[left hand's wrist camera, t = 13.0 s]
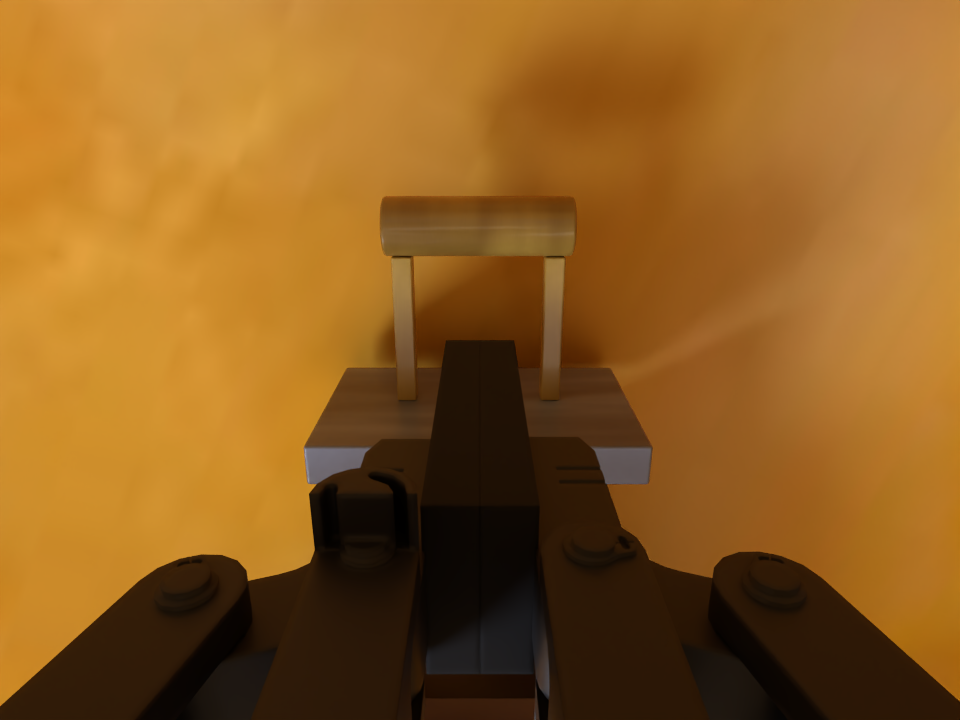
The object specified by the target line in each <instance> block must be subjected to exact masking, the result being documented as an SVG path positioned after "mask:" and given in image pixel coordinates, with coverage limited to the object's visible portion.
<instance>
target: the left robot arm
mask: <svg viewBox="0 0 960 720" xmlns="http://www.w3.org/2000/svg"><path fill="white" fill-rule="evenodd" d="M309 498H310V507H311V517H312V527H313V536H314V546H315V552H314V554H313V557H312V560H311V562H310V563H309V564H307V565H305V566H303V567H300V568H298V569H296V570H293V571H289V572H286V573H282V574H279V575H274V576H269V577H265V578H260V579H255V580H251V581H248V579H247V572H246V570H245V569H244V567H243V566H242V565H241V564H240V563H239V562H238V561H237V560H234V559H231V558H229V557H226V556H223V555H197V556H192V557H186V558H182V559H178V560H176V561H173V562H171V563H169V564H166V565H164V566H161V567H159V568H157V569H156V570H154V571H153V572H151V573H150V574H148V575H147V576H146V577H144V578H143V579H141V580H140V581H139V582H137V583H136V584H135V585H134V586H133V587H132V588H131V589H130V590H129V591H127V592H126V593H125V594H124V595H123V596H122V597H121V598H120V599H119V600H117V601H116V602H115V603H114V604H113V605H112V606H111V607H110V608H109V609H108V610H106V611H105V612H104V613H103V614H102V615H101V616H100V617H99V618H98V619H96V620H95V621H94V622H93V623H92V624H91V625H90V626H89V627H88V628H86V629H85V630H84V631H83V632H82V633H81V634H80V635H79V636H78V637H77V638H75V639H74V640H73V641H72V642H71V643H70V644H69V645H68V646H67V647H65V648H64V649H63V650H62V651H61V652H60V653H59V654H58V655H57V656H56V657H54V658H53V659H52V660H51V661H50V662H49V663H48V664H47V665H46V666H44V667H43V668H42V669H41V670H40V671H39V672H38V673H37V674H36V675H34V676H33V677H32V678H31V679H30V680H29V681H28V682H27V683H26V684H25V685H23V686H22V687H21V688H20V689H19V690H18V691H17V692H16V693H15V694H13V695H12V696H11V697H10V698H9V699H8V700H7V701H6V702H5V703H3V704H2V705H1V706H0V720H424V717H425V685H424V676H425V666H426V674H534V663H535V673H536V685H535V711H534V720H960V702H959V701H958V700H957V699H956V698H955V697H954V696H953V695H952V694H951V693H949V692H948V691H947V690H946V689H945V688H944V687H943V686H942V685H940V684H939V683H938V682H937V681H936V680H935V679H934V678H933V677H932V676H930V675H929V674H928V673H927V672H926V671H925V670H924V669H923V668H922V667H920V666H919V665H918V664H917V663H916V662H915V661H914V660H913V659H911V658H910V657H909V656H908V655H907V654H906V653H905V652H904V651H903V650H901V649H900V648H899V647H898V646H897V645H896V644H895V643H894V642H893V641H891V640H890V639H889V638H888V637H887V636H886V635H885V634H884V633H882V632H881V631H880V630H879V629H878V628H877V627H876V626H875V625H874V624H872V623H871V622H870V621H869V620H868V619H867V618H866V617H865V616H864V615H862V614H861V613H860V612H859V611H858V610H857V609H856V608H855V607H853V606H852V605H851V604H850V603H849V602H848V601H847V600H846V599H845V598H843V597H842V596H841V595H840V594H839V593H838V592H837V591H836V590H834V589H833V588H832V587H831V586H830V585H829V584H828V583H827V582H826V581H824V580H823V579H822V578H821V577H820V576H818V575H817V574H815V573H814V572H812V571H811V570H809V569H808V568H806V567H805V566H804V565H802V564H799V563H797V562H794V561H792V560H789V559H787V558H785V557H782V556H778V555H774V554H768V553H763V552H738V553H735V554H732V555H729V556H726V557H723V558H722V559H721V560H720V562H719V563H718V564H717V565H716V566H715V567H714V572H713V578H709V577H704V576H699V575H695V574H690V573H685V572H681V571H677V570H674V569H670V568H667V567H664V566H661V565H659V564H657V563H655V562H653V561H650V560H649V559H648V556H647V553H646V551H645V549H644V547H643V546H642V545H641V543H640V542H639V540H638V539H637V538H636V537H635V536H633V535H632V534H630V533H629V532H628V531H626V530H625V529H623V528H622V527H621V524H620V521H619V519H618V516H617V513H616V510H615V507H614V504H613V501H612V498H611V496H610V493H609V490H608V487H607V484H605V478H604V476H603V473H602V470H600V464H599V461H598V458H597V456H596V453H595V450H593V449H592V448H591V447H590V446H589V445H587V444H586V443H585V442H584V441H583V440H581V439H580V438H579V437H529V434H528V427H527V421H526V414H525V408H524V402H523V395H522V389H521V382H520V376H519V369H518V363H517V357H516V350H515V344H514V340H446V344H445V350H444V357H443V363H442V369H441V376H440V382H439V389H438V395H437V402H436V408H435V414H434V421H433V427H432V434H431V439H381V440H380V441H379V442H378V443H376V444H375V445H374V446H373V447H372V448H370V449H369V450H368V451H367V452H366V453H365V455H364V458H363V461H362V464H361V467H360V468H354V469H349V470H346V471H342V472H339V473H336V474H333V475H331V476H329V477H327V478H326V479H324V480H322V481H321V482H319V483H318V484H317V485H316V486H315V487H314V488H313V490H312V491H311V492H310V493H309Z"/></svg>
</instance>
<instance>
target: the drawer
mask: <svg viewBox="0 0 960 720" xmlns="http://www.w3.org/2000/svg"><path fill="white" fill-rule="evenodd" d="M576 232H577V211H576V203H575V200H574V198H573V197H571V196H386V197H383V199H382V202H381V207H380V236H381V245H382V249H383V252H384V254H385V255H386V256H392V258H391V267H392V288H393V310H394V331H395V352H396V368H347V369H346V371H345V373H344V374H343V376H342V378H341V380H340V382H339V384H338V385H337V387H336V389H335V391H334V393H333V395H332V397H331V398H330V400H329V402H328V404H327V406H326V408H325V409H324V411H323V413H322V415H321V417H320V419H319V420H318V422H317V424H316V426H315V428H314V430H313V431H312V433H311V435H310V437H309V439H308V441H307V442H306V444H305V446H304V454H305V464H306V473H307V482H308V483H309V484H318V483H319V482H321V481H322V480H324V479H326V478H327V477H329V476H331V475H333V474H336V473H339V472H342V471H346V470H349V469H354V468H360V467H361V464H362V461H363V458H364V455H365V453H366V452H367V451H368V450H369V449H370V448H372V447H373V446H374V445H375V444H376V443H378V442H379V441H380V440H381V439H431V434H432V427H433V421H434V414H435V408H436V402H437V395H438V389H439V382H440V376H441V369H442V368H417V347H416V319H415V290H414V262H413V256H544V259H543V289H542V318H541V348H540V368H518V369H519V376H520V382H521V389H522V395H523V402H524V408H525V414H526V421H527V427H528V434H529V437H579V438H580V439H581V440H583V441H584V442H585V443H586V444H587V445H589V446H590V447H591V448H592V449H593V450H595V453H596V456H597V458H598V461H599V464H600V470H602V473H603V476H604V478H605V484H648V483H649V478H650V468H651V459H652V449H653V448H652V445H651V444H650V442H649V440H648V438H647V436H646V434H645V432H644V430H643V428H642V427H641V425H640V423H639V421H638V419H637V417H636V415H635V413H634V412H633V410H632V408H631V406H630V404H629V402H628V400H627V398H626V396H625V395H624V393H623V391H622V389H621V387H620V385H619V383H618V381H617V380H616V378H615V376H614V374H613V372H612V370H611V369H610V368H561V350H562V328H563V306H564V284H565V262H566V259H565V257H564V256H571V255H572V254H573V252H574V248H575V243H576ZM424 685H425V698H535V685H536V673H535V663H534V674H426V666H425V676H424Z"/></svg>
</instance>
